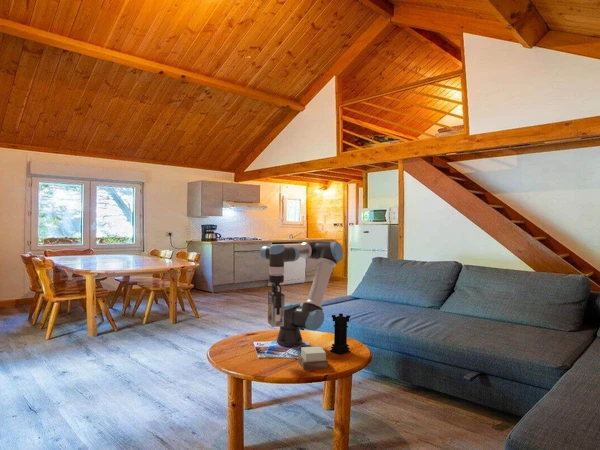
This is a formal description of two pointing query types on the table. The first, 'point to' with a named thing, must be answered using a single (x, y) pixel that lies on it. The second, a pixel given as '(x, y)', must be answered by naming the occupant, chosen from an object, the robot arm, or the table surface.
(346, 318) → the chess piece
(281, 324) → the coffee box
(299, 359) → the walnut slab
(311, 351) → the sage block
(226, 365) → the table surface
